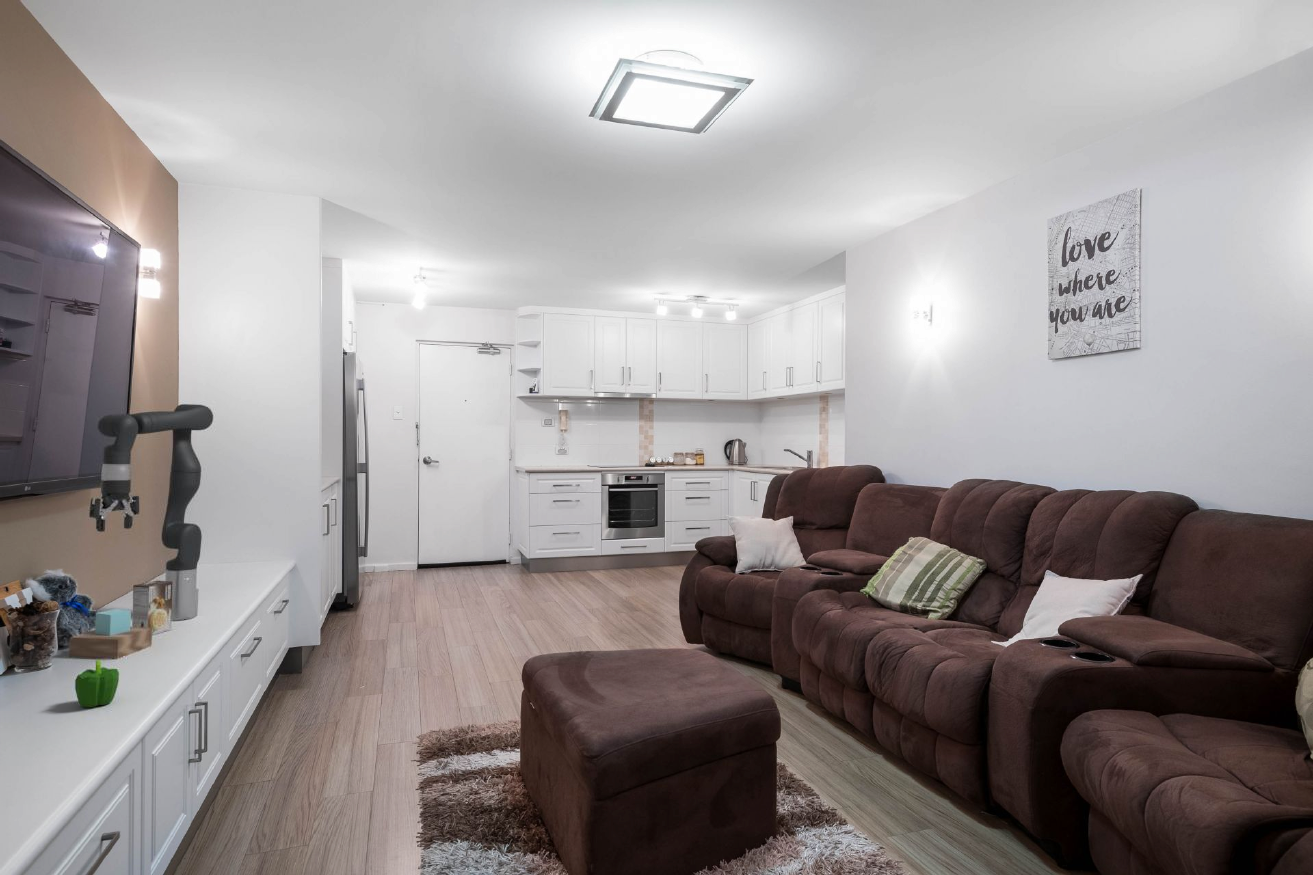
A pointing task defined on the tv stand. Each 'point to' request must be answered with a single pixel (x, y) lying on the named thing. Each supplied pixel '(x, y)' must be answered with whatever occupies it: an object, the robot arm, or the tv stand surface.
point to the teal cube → (112, 622)
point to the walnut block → (110, 643)
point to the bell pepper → (96, 686)
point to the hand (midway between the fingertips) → (114, 529)
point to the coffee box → (153, 606)
